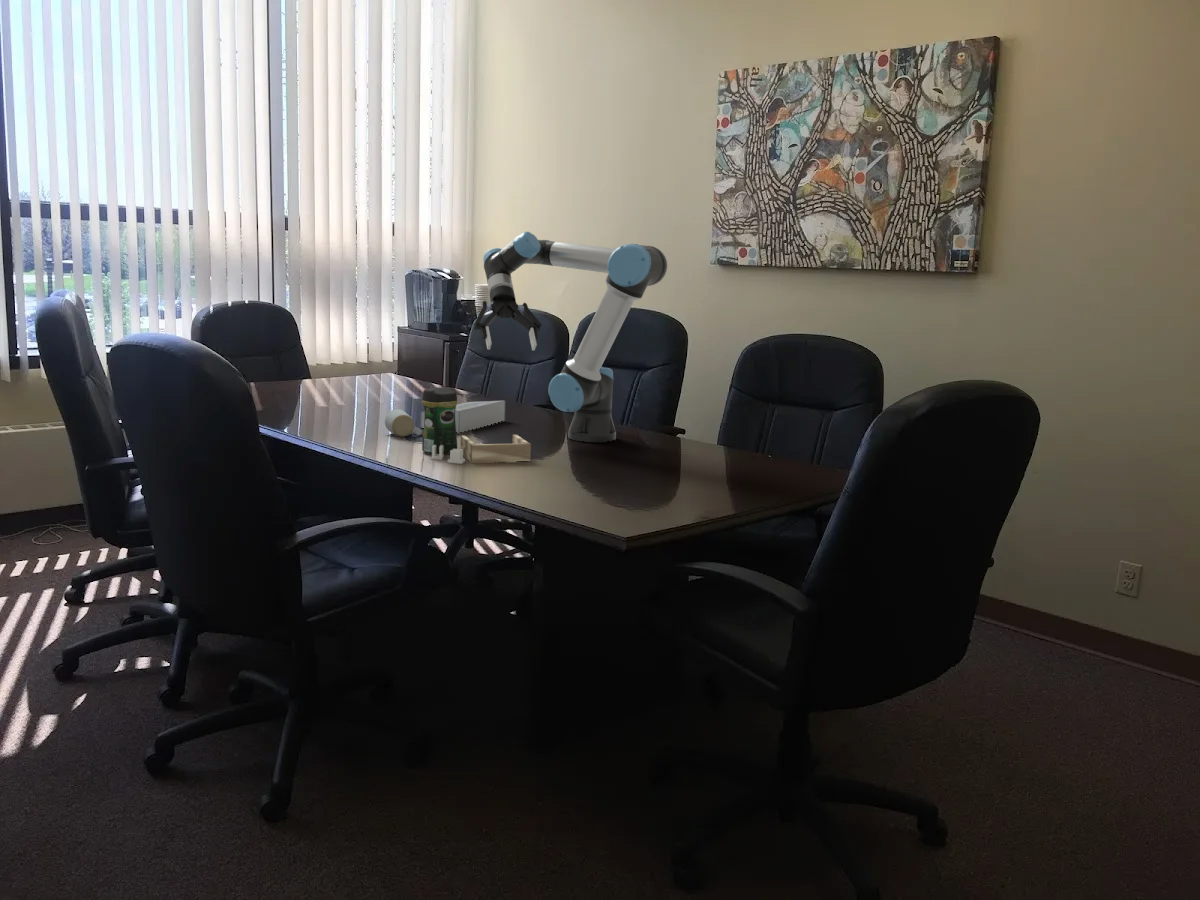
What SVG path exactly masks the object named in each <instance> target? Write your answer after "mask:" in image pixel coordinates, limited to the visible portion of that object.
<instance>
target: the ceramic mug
mask: <svg viewBox="0 0 1200 900" xmlns="http://www.w3.org/2000/svg"><path fill="white" fill-rule="evenodd" d="M384 425H385V427H386V430H388V431H389V432H390V433H392V434H393V435H394V436H396V437H399V436H400V437H401V438H405V436H406V437H408V436H410V435H411V434H415V435H418V436H421V435H422V432H423V429H421V428H419V427H416V426H415V422H414V420H413V417H412V416H410V415H409V414H408V413H407V412H406V411H404V410H402V409H399V408H397V409H396V408H395V409H392V410H390V411H389V412H388V413H387V414H386V416H385V419H384ZM400 437H399V438H400Z"/></svg>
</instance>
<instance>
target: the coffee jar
mask: <svg viewBox="0 0 1200 900" xmlns="http://www.w3.org/2000/svg"><path fill="white" fill-rule="evenodd" d="M421 403H422V406H423V408H424V412H425V419H424V429H423V431H422V432H423V434H422V442H421V443H422V444H421V450H422V451H423V452H424V453H425V454H428V455H432V446H433V445H436V454H439V447H440V446H441V445H444V447H443V454H444V455H448V454H450V450H453V449H458V437H457V433H456V424H455V409H456V405H457V404H458V394H457V390H456V388H451V387H446V386H445V387H443V386H441V387H432V388H430V387H429V388H425V389H424V390H423V392H422V401H421Z"/></svg>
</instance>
